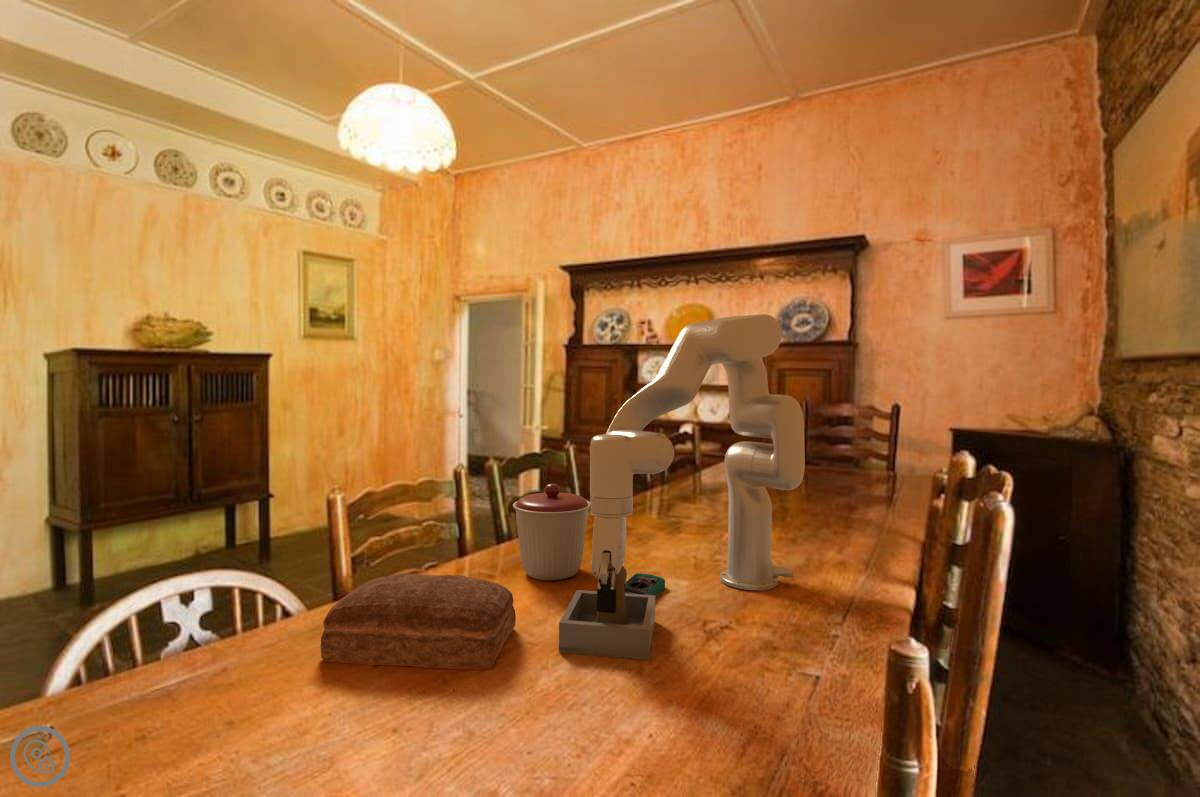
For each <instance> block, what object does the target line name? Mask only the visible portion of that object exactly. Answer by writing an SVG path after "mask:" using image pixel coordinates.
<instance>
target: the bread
mask: <svg viewBox="0 0 1200 797" xmlns="http://www.w3.org/2000/svg"><path fill="white" fill-rule="evenodd" d="M516 615H517V614H516V609H515V607H514V597H513V593H512V592H511V590H509V589H508V588H507V587H505V586H504V585H502V584H499V583H496V582H494V581H491V580H486V579H482V578H477V577H470V576H466V575H465V576H464V575H459V574H457V575H456V574H442V575H441V574H440V575H434V574H433V575H430V574H420V573H410V572H409V573H401V574H400V573H398V574H393V575H387V576H381V577H376V578H374V579H371V580H368V581H367V582H366V581H365V582H364V583H362V584H360V585H359V586H357V587H356V588H355V589H353V590H352V591H350V592H349V593H347V594H345V595H344V596H343V598H341V599H339V601H338V602H337V603H336V604H334V605H333V607H331V608H330V609H329V611H328V612H327V614H326V616H325V618H324V620H323V622H322V623H323V628H324V630H323V632H322V634H321V637H320V653H321V659H322V660H323V662H324V661H326V662H325V663H339V664H340V663H342V664H353V665H354V664H356V665H368V666H369V665H370V666H371V665H373V666H376V665H377V666H380V665H381V666H405V667H406V666H407V667H416V668H426V669H427V668H428V669H450V670H451V669H453V670H489V669H492V668H493V666H494V665H495V661H496V660H497V658H498V656H499V654H500V651H501V650H502V648H503V646H504V645H505V642H506V641H507V639H508V638H509V636H510V635H511V633H512V632H513V630H514V628H515V626H516V620H517V617H516Z"/></svg>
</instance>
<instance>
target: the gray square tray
mask: <svg viewBox="0 0 1200 797" xmlns="http://www.w3.org/2000/svg"><path fill="white" fill-rule="evenodd" d="M625 599H626V607H627V615H628V623H629V625H623V624H610V623H597V622H596V616H597V590H594V591H593V590H582V589H581V590H579V589H577V590H576V591H575V593H574V594H573V596H572V598H571V601H570V602H569V603H568V605H567V607H566V609H565V611H564V613H563V615H562V617H561V619H560V621H559V622H558V653H562V654H564V653H565V654H572V655H573V654H575V655H587V656H598V657H607V658H609V657H612V658H619V659H634V660H645V661H650V657H651V651H652V644H653V643H652V642H653V636H654V632H655V631H654V630H655V625H656V596H655V595H642V594H627V593H625Z"/></svg>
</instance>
